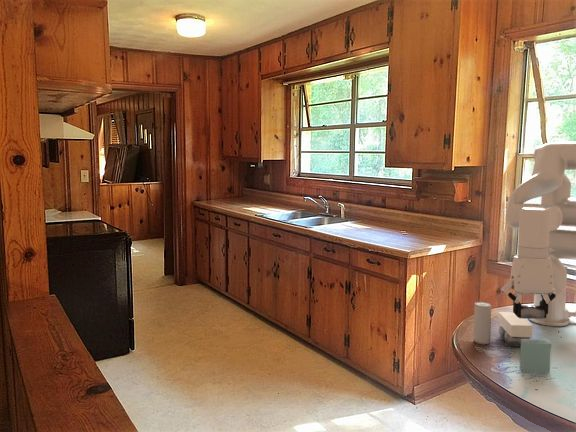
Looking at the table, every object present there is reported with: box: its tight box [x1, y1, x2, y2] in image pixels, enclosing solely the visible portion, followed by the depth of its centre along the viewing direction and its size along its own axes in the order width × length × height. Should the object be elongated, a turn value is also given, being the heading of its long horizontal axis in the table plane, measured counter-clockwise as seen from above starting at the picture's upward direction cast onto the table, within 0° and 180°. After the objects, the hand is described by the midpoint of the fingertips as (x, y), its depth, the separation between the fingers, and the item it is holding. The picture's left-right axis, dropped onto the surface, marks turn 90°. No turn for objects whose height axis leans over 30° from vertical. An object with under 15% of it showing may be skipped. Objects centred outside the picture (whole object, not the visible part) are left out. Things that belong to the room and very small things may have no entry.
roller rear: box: [498, 325, 506, 340], centre depth 150 cm, size 6×4×4 cm, turn 83°
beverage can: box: [473, 301, 492, 345], centre depth 148 cm, size 5×5×12 cm
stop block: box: [519, 338, 552, 374], centre depth 128 cm, size 6×3×8 cm, turn 83°
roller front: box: [504, 332, 531, 347], centre depth 145 cm, size 6×4×4 cm, turn 83°
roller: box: [520, 304, 545, 320], centre depth 134 cm, size 6×4×4 cm, turn 83°
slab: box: [497, 311, 534, 338], centre depth 147 cm, size 6×12×4 cm, turn 173°
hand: (530, 315), depth 134 cm, fingers closed on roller, 6 cm apart
